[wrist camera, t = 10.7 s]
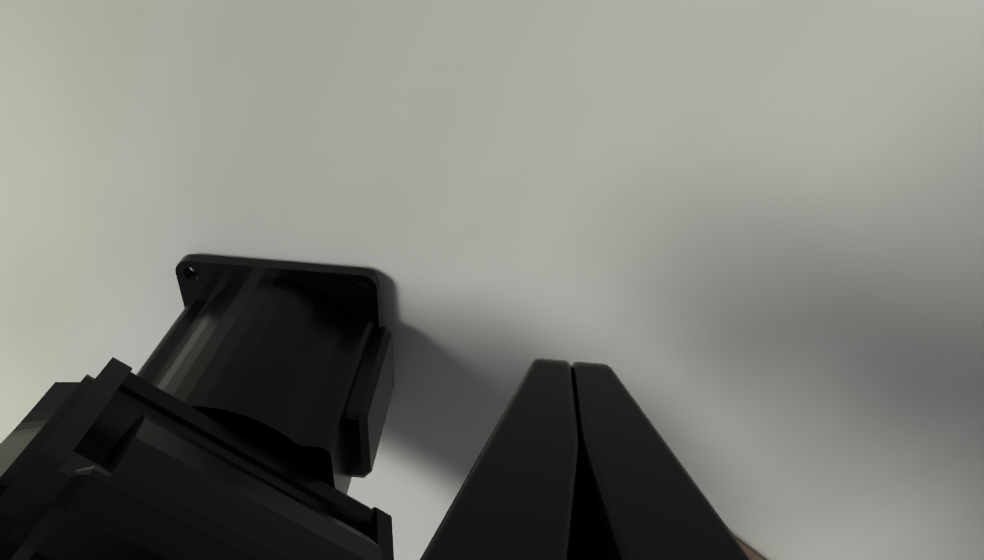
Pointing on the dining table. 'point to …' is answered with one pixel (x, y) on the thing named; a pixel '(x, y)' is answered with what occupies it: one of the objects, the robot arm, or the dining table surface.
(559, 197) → the dining table surface
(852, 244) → the dining table surface
